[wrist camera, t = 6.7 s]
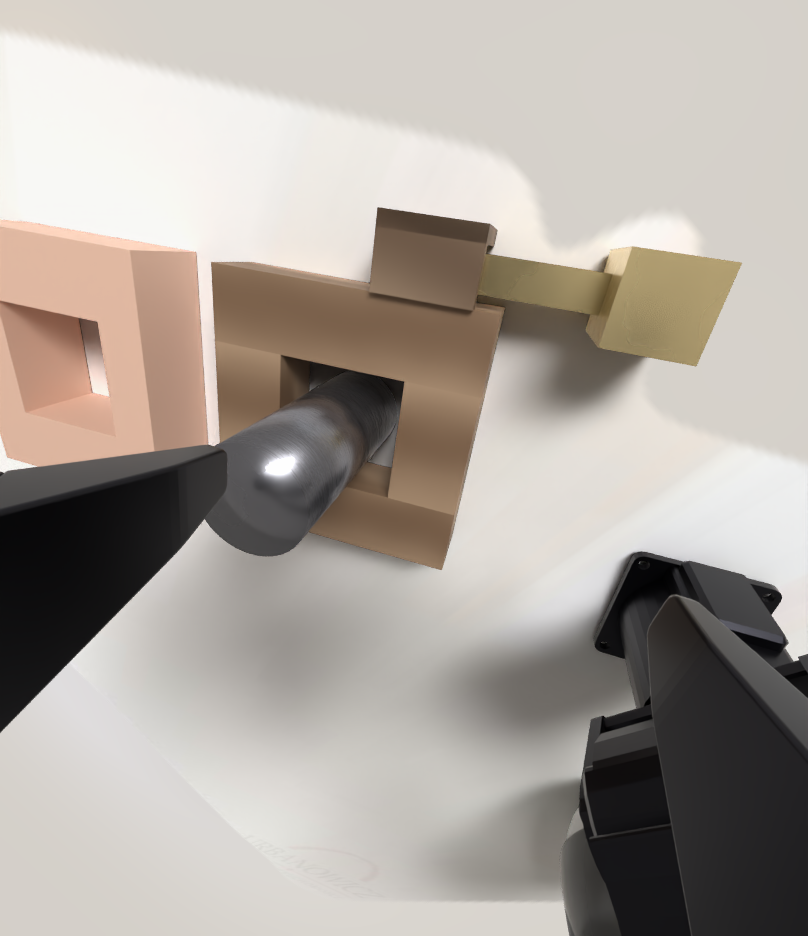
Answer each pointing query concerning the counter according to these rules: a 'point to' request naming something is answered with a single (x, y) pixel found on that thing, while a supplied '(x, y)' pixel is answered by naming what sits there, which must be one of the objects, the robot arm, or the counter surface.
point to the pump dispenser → (584, 887)
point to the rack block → (122, 340)
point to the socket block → (373, 367)
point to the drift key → (626, 298)
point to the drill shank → (300, 462)
